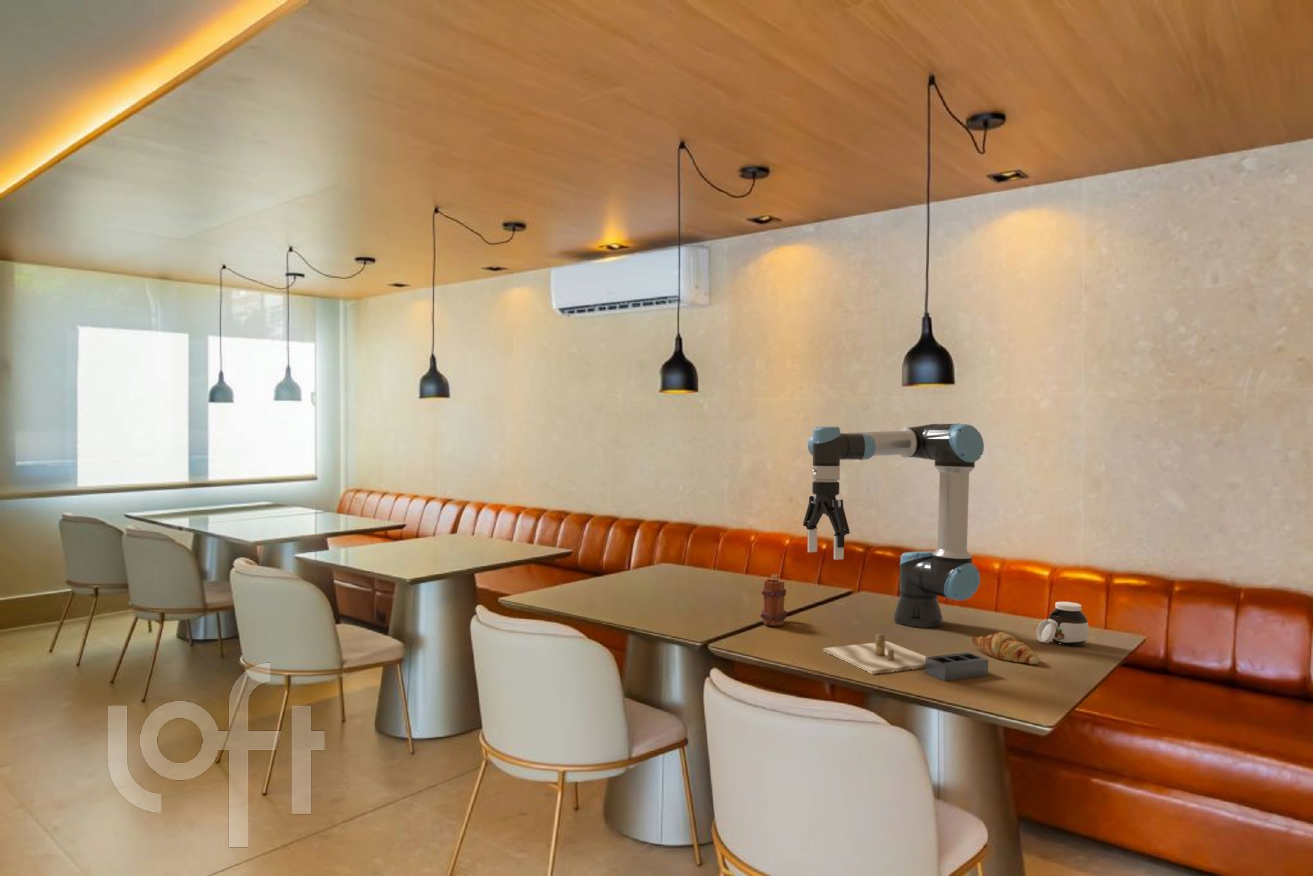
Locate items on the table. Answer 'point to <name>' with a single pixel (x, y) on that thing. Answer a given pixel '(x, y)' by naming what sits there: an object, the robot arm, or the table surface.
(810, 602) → the table surface
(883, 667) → the mount board
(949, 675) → the grey compartment tray
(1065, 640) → the spread jar
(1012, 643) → the croissant
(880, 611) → the table surface
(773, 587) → the brown banded canister
